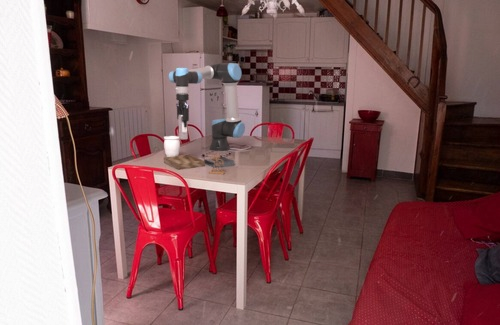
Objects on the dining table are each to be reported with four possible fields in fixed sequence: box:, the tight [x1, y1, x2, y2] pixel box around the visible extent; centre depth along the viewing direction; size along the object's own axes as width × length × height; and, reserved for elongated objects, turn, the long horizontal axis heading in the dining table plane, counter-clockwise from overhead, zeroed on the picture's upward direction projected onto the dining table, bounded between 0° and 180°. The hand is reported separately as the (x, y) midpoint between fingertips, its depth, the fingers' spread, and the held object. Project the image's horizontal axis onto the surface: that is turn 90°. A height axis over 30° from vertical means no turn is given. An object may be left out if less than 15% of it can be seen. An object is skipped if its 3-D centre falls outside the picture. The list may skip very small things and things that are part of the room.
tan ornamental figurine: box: [208, 152, 226, 176], centre depth 221 cm, size 9×4×12 cm, turn 76°
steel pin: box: [177, 115, 189, 140], centre depth 236 cm, size 5×5×15 cm
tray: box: [163, 154, 206, 171], centre depth 241 cm, size 18×22×4 cm
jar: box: [163, 135, 181, 157], centre depth 257 cm, size 11×10×15 cm
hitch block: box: [203, 156, 235, 169], centre depth 243 cm, size 14×14×3 cm
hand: (183, 131), depth 237 cm, fingers closed on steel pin, 4 cm apart
